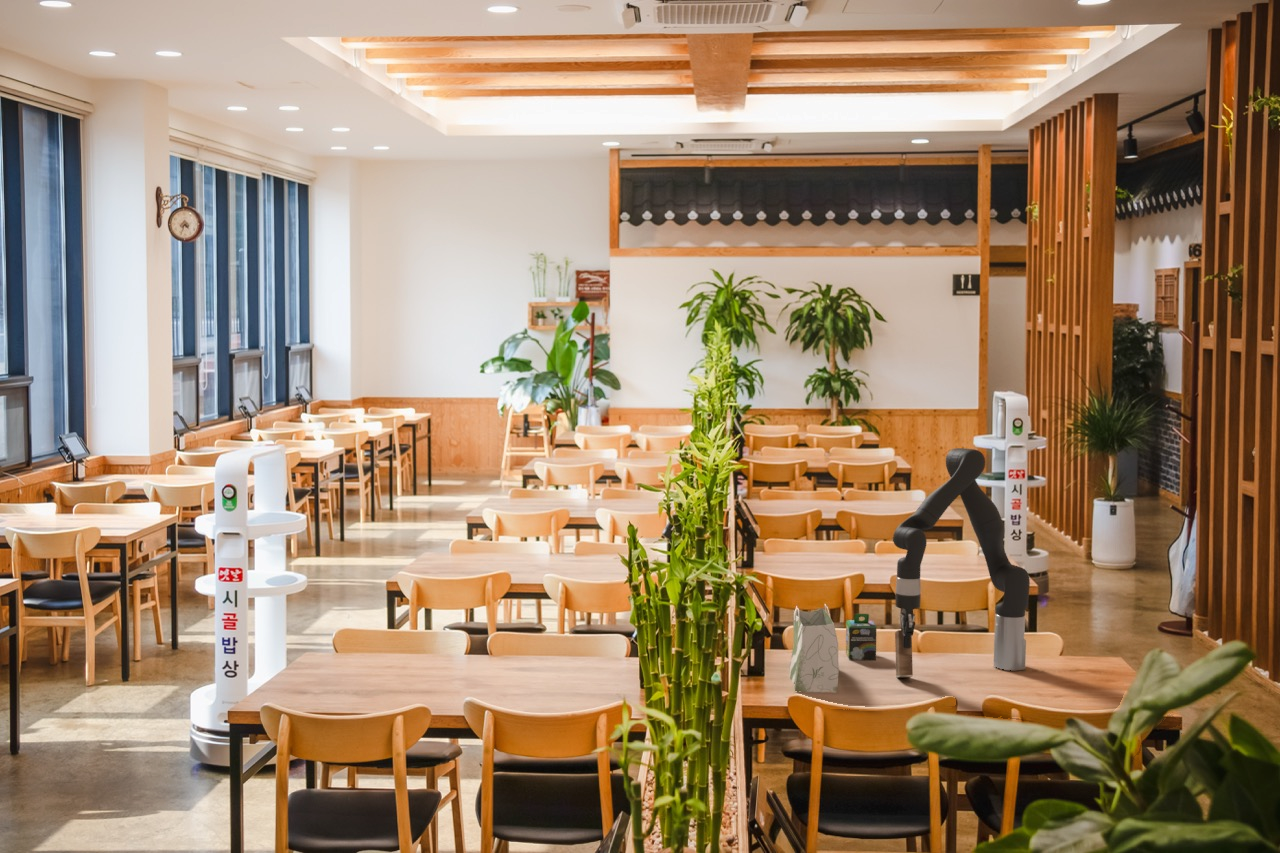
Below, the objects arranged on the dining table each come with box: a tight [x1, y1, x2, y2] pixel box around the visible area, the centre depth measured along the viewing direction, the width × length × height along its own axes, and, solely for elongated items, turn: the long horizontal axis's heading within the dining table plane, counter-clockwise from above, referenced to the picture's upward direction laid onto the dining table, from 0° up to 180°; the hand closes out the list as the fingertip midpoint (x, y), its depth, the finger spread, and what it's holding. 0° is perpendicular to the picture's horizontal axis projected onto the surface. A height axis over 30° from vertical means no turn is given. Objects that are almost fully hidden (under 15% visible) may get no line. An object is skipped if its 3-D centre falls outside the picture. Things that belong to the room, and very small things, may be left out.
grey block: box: [894, 629, 914, 679], centre depth 404 cm, size 4×7×14 cm, turn 177°
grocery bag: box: [789, 603, 840, 693], centre depth 404 cm, size 32×14×23 cm, turn 177°
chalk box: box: [845, 613, 878, 661], centre depth 430 cm, size 9×9×15 cm
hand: (906, 647), depth 400 cm, fingers closed
